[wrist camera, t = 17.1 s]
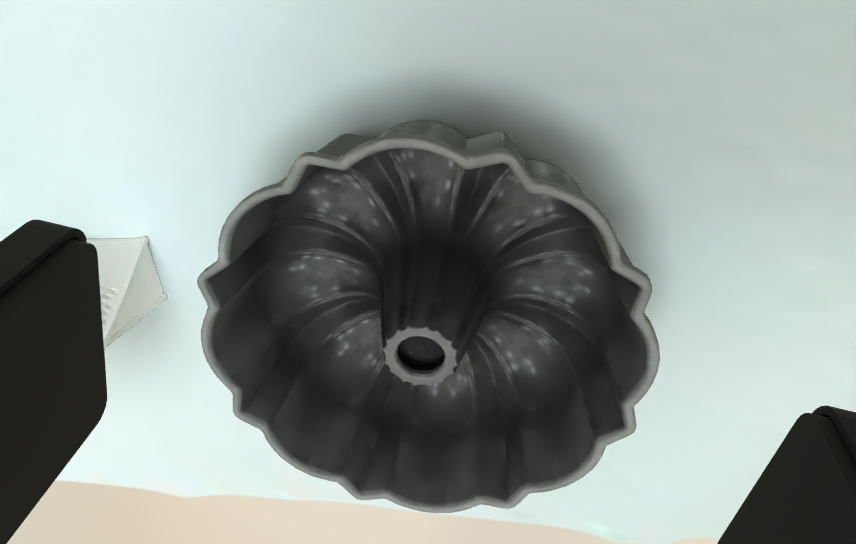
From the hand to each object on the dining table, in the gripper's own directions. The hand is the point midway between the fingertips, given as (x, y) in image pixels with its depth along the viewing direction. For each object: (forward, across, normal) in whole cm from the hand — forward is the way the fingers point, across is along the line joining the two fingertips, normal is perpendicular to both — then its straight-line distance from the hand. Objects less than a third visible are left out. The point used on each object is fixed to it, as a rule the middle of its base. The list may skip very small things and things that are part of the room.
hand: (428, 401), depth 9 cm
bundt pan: (+35, 0, +19) cm, 40 cm away
